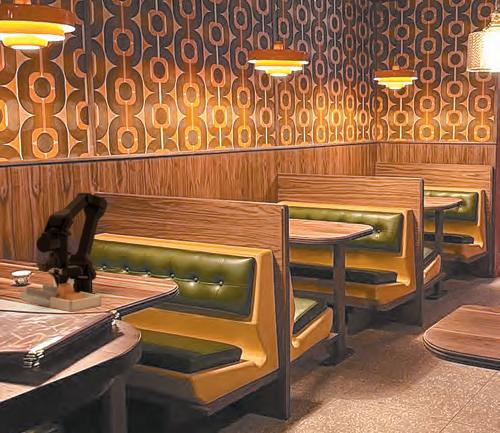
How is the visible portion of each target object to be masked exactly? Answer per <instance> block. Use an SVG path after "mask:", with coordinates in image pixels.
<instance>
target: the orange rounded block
mask: <svg viewBox="0 0 500 433" xmlns="http://www.w3.org/2000/svg"><path fill="white" fill-rule="evenodd" d="M73 291H74V288H73V287H72V286H71V285H70V284H69V283H63V284H59V285H58V288H57V291H56V294H58V296H59V297H60V298H61V299H66V294H68V293H73Z"/></svg>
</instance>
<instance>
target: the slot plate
mask: <svg viewBox="0 0 500 433" xmlns="http://www.w3.org/2000/svg"><path fill="white" fill-rule="evenodd" d="M25 289H26V290H25V291H23V292H20V301H26V302H29V303H32V304H38V305H41V306H45V307H49V308H51V307H50V297H55V298H59V299H61V298H60V297H59V296H58V294H56V291H57V287H54V286H53V285H48V284H42V288H40V289H39V288H38V289H37V288H32V287H26V288H25ZM73 292H75V291H73ZM64 300H66V299H64Z"/></svg>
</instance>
